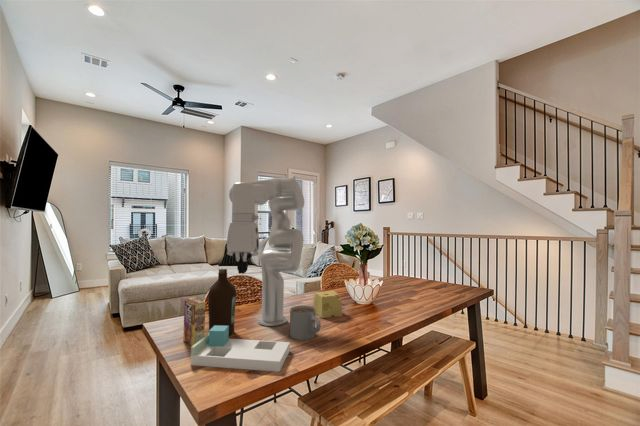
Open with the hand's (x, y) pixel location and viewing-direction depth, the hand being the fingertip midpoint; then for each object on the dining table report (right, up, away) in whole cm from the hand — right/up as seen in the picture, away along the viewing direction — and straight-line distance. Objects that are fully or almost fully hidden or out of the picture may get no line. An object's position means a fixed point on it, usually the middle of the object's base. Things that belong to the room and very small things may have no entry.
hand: (242, 272), depth 102 cm
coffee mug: (+21, -28, +14) cm, 37 cm away
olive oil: (-12, -27, +16) cm, 34 cm away
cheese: (+30, -29, +42) cm, 59 cm away
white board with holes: (+1, -27, -4) cm, 27 cm away
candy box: (-20, -27, +7) cm, 34 cm away
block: (-8, -24, 0) cm, 25 cm away
